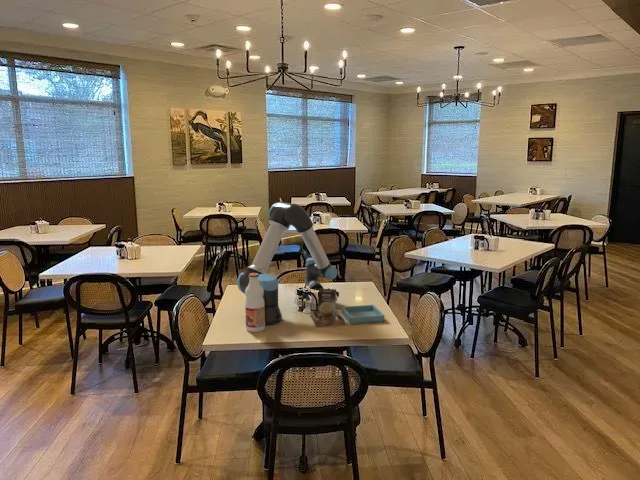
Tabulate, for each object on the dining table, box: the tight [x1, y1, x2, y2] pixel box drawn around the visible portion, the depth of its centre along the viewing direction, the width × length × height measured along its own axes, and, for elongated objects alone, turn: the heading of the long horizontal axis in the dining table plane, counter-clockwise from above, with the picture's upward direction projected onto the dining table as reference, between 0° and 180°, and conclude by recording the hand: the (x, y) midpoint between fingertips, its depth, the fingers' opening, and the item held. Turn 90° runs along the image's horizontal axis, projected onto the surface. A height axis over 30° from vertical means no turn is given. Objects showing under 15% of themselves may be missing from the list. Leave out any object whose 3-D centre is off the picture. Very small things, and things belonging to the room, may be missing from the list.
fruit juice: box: [244, 273, 266, 333], centre depth 243 cm, size 9×9×28 cm
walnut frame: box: [309, 309, 346, 328], centre depth 257 cm, size 14×16×2 cm
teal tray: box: [340, 304, 386, 326], centre depth 261 cm, size 18×18×4 cm
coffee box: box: [317, 288, 337, 321], centre depth 256 cm, size 9×6×16 cm
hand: (324, 299), depth 264 cm, fingers open, 13 cm apart
